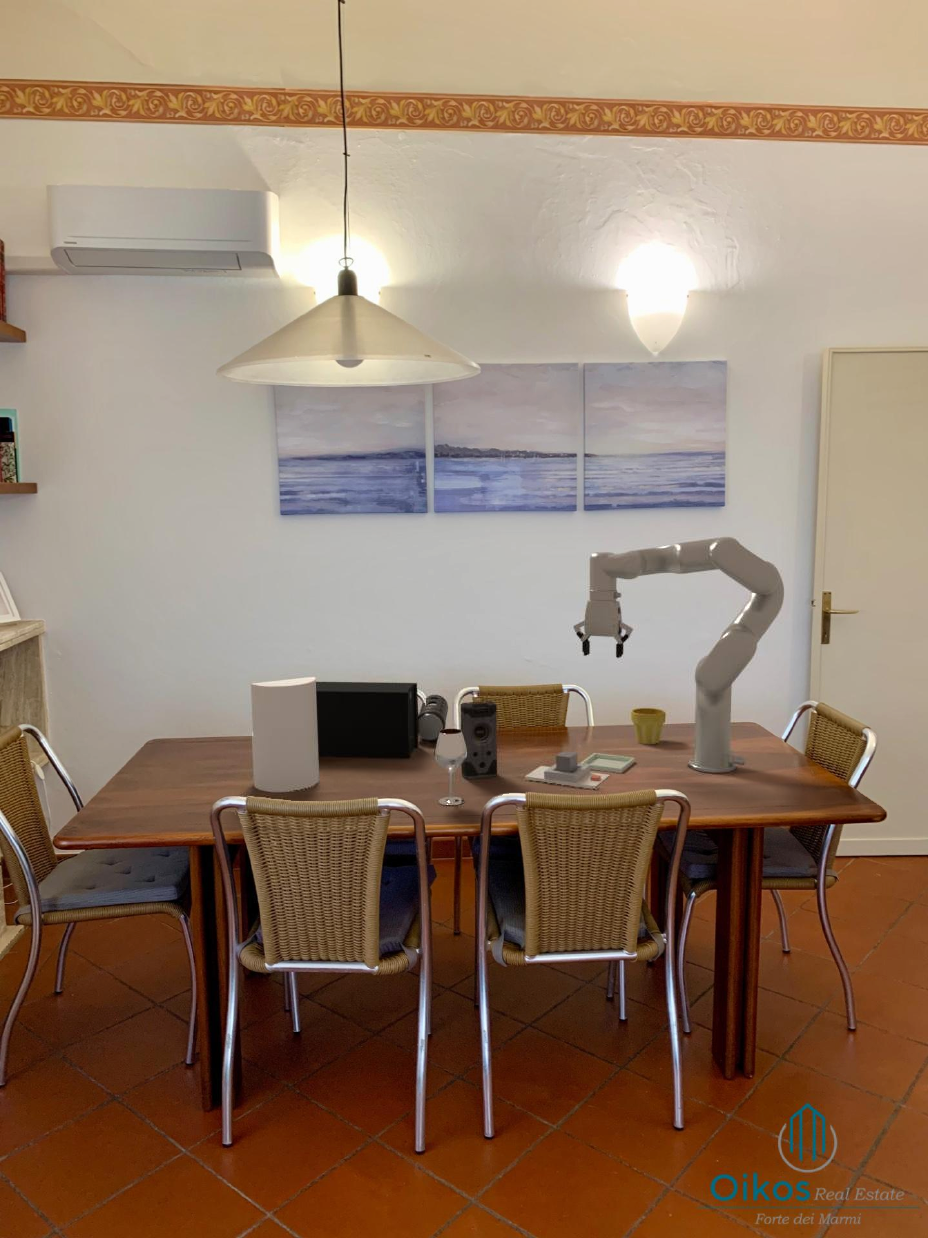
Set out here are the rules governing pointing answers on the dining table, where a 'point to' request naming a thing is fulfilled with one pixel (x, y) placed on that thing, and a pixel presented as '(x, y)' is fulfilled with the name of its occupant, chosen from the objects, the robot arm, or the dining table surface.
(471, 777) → the electronic device
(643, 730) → the plant pot
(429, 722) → the muzzle brake
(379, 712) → the uninterruptible power supply
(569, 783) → the plate with square socket
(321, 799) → the dining table surface
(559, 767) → the plug
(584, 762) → the tray
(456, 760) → the wineglass
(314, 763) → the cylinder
